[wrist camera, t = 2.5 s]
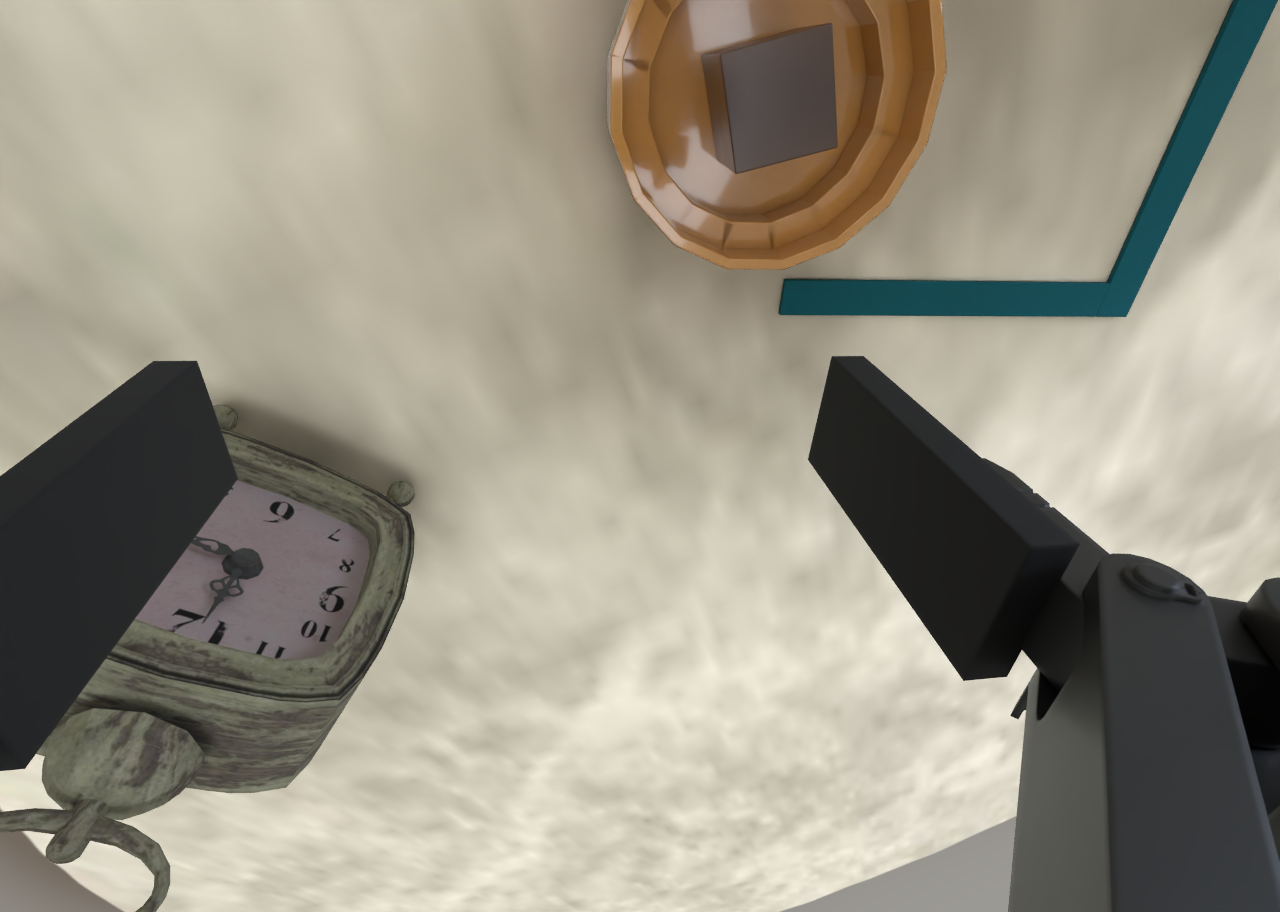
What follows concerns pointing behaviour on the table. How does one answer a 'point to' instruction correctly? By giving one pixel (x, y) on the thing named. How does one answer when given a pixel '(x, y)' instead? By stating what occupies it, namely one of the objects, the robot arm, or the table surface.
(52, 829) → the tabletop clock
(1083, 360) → the table surface
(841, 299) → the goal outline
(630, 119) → the bowl
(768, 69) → the walnut block
